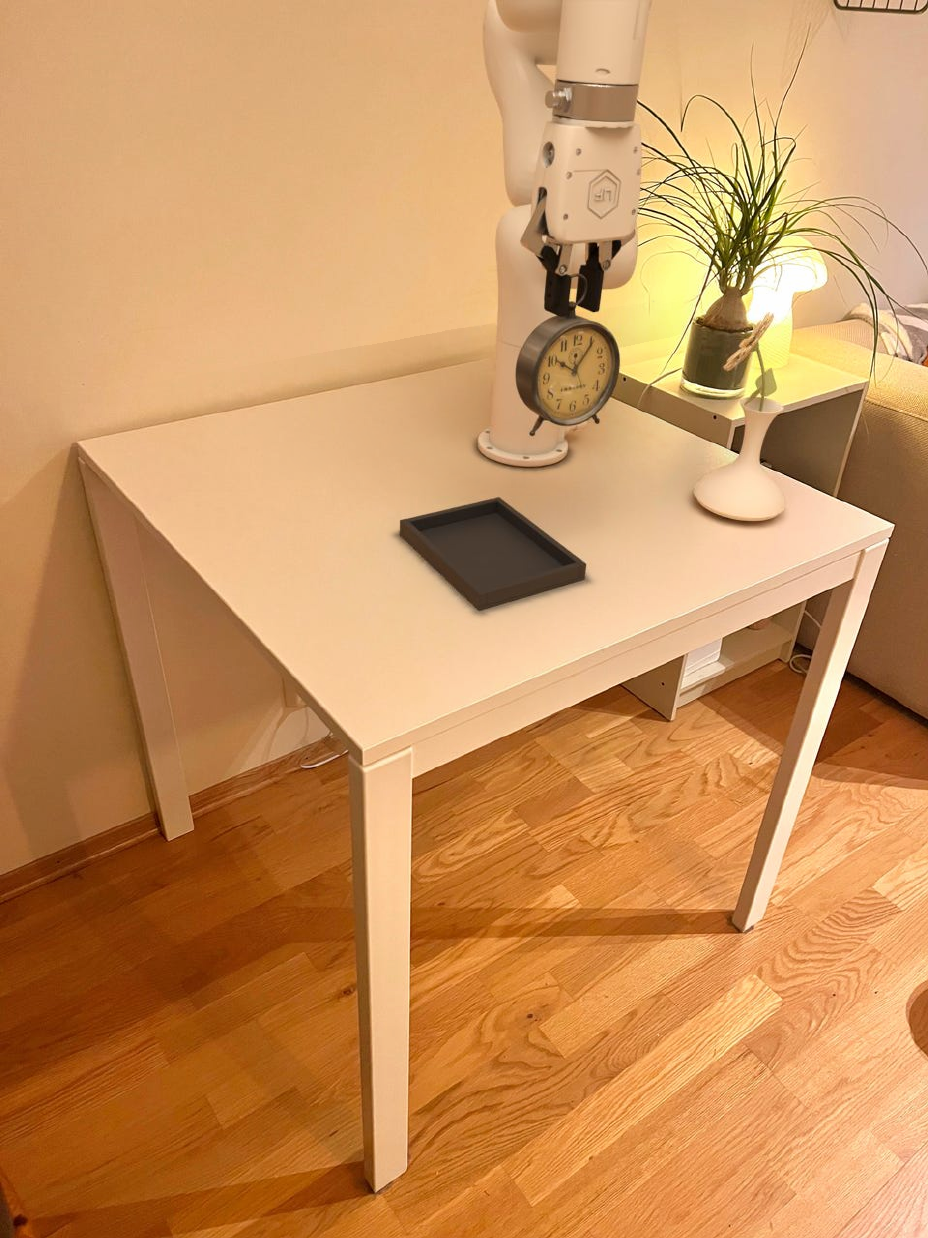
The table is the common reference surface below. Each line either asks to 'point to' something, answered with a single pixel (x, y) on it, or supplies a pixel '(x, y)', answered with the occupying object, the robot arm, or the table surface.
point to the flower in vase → (747, 452)
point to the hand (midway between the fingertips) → (571, 309)
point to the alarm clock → (567, 368)
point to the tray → (491, 552)
